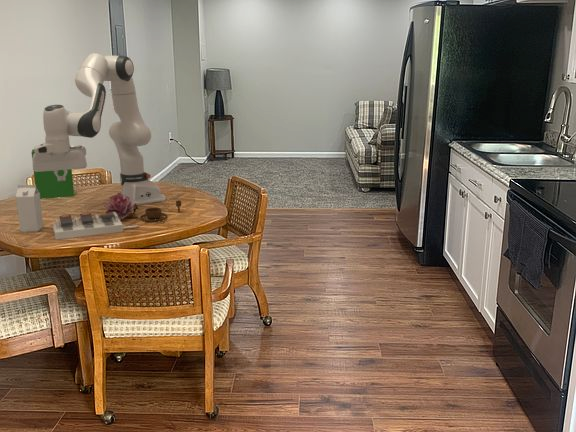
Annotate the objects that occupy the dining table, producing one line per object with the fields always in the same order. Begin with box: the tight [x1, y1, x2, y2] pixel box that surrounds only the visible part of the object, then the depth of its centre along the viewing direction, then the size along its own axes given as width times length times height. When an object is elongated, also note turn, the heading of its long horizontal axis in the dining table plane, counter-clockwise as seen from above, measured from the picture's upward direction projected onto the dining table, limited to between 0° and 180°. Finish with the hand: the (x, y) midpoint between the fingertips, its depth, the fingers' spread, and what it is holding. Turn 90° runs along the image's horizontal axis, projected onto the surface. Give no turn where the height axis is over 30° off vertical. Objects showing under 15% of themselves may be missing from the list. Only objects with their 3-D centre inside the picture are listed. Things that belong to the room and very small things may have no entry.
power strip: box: [52, 212, 139, 240], centre depth 235 cm, size 32×13×6 cm, turn 115°
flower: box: [103, 193, 139, 222], centre depth 253 cm, size 15×15×10 cm
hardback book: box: [31, 149, 75, 200], centre depth 288 cm, size 18×7×24 cm, turn 111°
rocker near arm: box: [99, 213, 113, 219], centre depth 238 cm, size 4×7×2 cm, turn 25°
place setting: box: [139, 200, 182, 224], centre depth 253 cm, size 18×20×6 cm
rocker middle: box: [79, 212, 94, 224], centre depth 234 cm, size 4×7×2 cm, turn 25°
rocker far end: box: [59, 214, 74, 226], centre depth 231 cm, size 4×7×2 cm, turn 25°
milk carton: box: [15, 184, 44, 233], centre depth 233 cm, size 7×7×19 cm
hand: (61, 180), depth 229 cm, fingers closed
